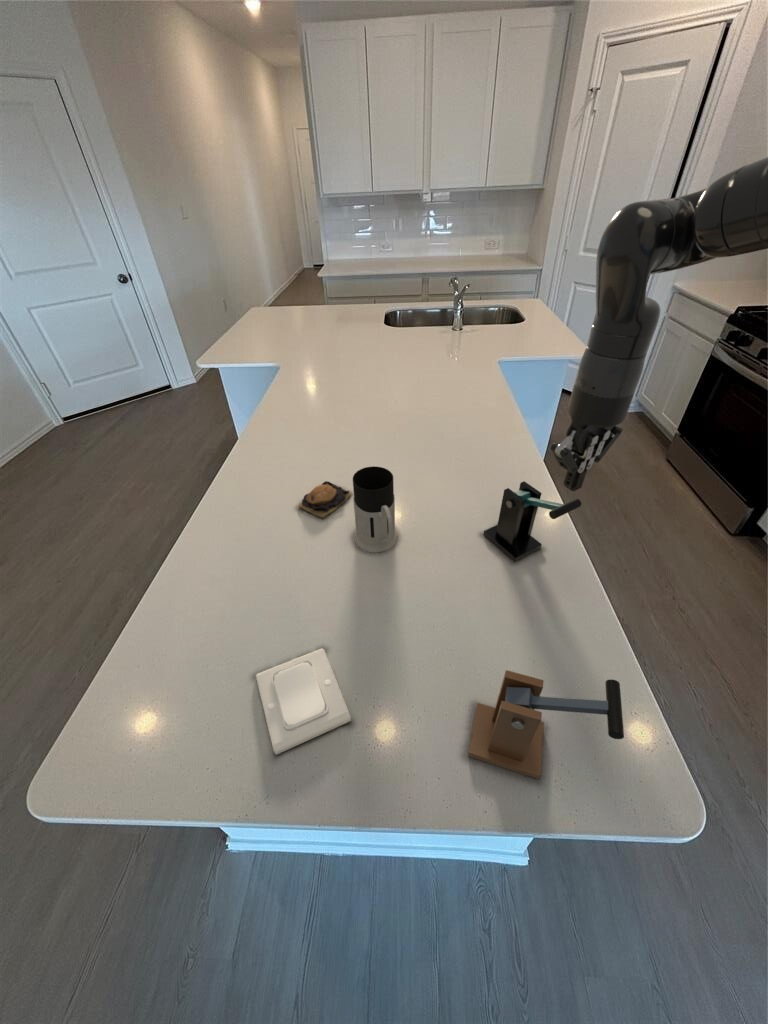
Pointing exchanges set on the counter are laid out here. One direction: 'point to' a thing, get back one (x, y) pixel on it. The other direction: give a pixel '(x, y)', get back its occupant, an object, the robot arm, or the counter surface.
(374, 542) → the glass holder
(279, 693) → the light switch
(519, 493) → the far lever
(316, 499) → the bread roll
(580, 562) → the counter surface
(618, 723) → the near lever
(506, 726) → the near bracket
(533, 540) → the far bracket
